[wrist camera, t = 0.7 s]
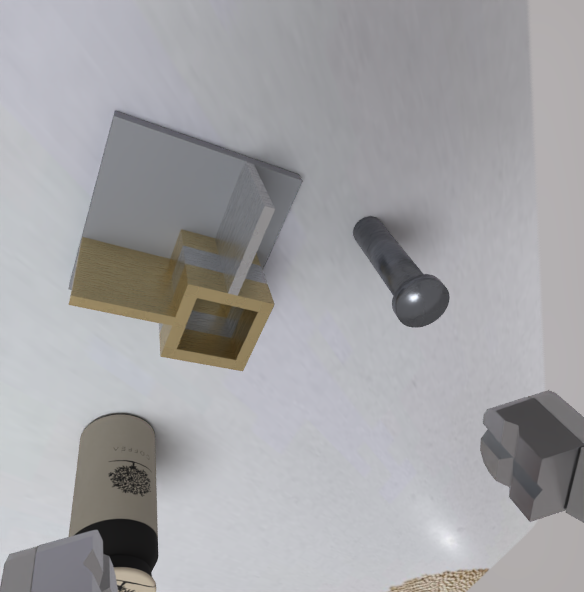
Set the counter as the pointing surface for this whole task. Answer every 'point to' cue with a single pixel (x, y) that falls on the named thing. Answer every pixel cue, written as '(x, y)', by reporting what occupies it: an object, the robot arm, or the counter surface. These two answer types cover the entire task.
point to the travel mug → (119, 496)
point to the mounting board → (172, 189)
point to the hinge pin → (401, 275)
